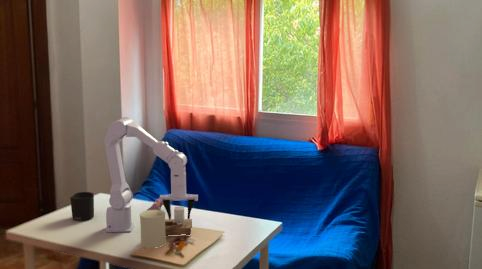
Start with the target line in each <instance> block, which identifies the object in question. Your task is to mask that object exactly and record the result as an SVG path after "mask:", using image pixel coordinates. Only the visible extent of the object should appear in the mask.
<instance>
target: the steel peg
mask: <svg viewBox="0 0 482 269" xmlns="http://www.w3.org/2000/svg"><path fill="white" fill-rule="evenodd" d="M173 208H174V209H173V219H174V222H177V225H182V222H184V219H185V206H174V207H173Z"/></svg>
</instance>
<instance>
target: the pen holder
mask: <svg viewBox="0 0 482 269" xmlns="http://www.w3.org/2000/svg"><path fill="white" fill-rule="evenodd" d="M69 198H70V207H71V208H70V210H71V218H72V220H73V221H74V222H75V221H76V222H86V221H90V220H92V219H94V217H95V196H94V193H93V192H91V191H81V192H76V193H74V194H73V195H71V196H70V197H69Z"/></svg>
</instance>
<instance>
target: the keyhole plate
mask: <svg viewBox="0 0 482 269" xmlns="http://www.w3.org/2000/svg"><path fill="white" fill-rule="evenodd" d="M191 228H192V229H193V219H192V218H190V219H188V218H184V222H182V225H177V222H174V218H173V219H172V218H171V219H169V218H168V219H167V218H165V235H166V236H168V235H181V234H186V235H190V234H191V235H192V230H191ZM191 235H190V236H191Z"/></svg>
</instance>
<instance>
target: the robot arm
mask: <svg viewBox="0 0 482 269" xmlns="http://www.w3.org/2000/svg"><path fill="white" fill-rule="evenodd" d="M125 137H126V138H136V139H138V140H139V141H141V142H142V143H144V144H145V145H147V146H148V147H150V148H151V149H152V151H153V154H154V155H156V156H157V157H159V158H160V159H161V160H163V161H164V162H165V163H166V164H168V167H169V169H170V192H171V193H169V194H160V195H159V199H160V201H163V205H162V206H163V208H164V209H165V211H166V213H167V214H166V215H167V216H168V217H167V218H168V219H172V210H171V209H172V208H171V202H174V201H175V202H176V201H179V202H181V201H187V204H186V205H187V219H191V211H192V209H193V207H194V205H195V202H198V201H199V194H191V193H187V172H186V164H187V163H188V156H186V155H185V153H184V152H180V151H179V150H177V149H175V148H173V147H171V146H170V145H169V142H168V141H164V140H162V141H161V140H160V141H159V140H157V139H156V138H154V137H153V136H152V134H150V133H148V132H147V131H146V130H145V129H144V128H143V127H141V126H140V125H139V124H138V123H137V121H134V120H133V119H132V118H130V117H126V116H124V117H122V118H120V119H118V120H115V121H112V122H111V123H110V124H109V125H108V126H107V132H106V134H105V137H104V146H105V153H106V158H107V165H108V169H109V174H110V176H109V177H110V181H111V188H110V191H109V196H110V197H109V200H108V201H109V205H110V206H109V207H107V208H106V212H105V213H106V215H105V218H106V220H105V221H106V232H107V233H115V232H116V233H123V232H124V233H127V232H128V233H129V232H130V233H131V232H132V230H133V228H134V226H135V223H132V204H131V201H132V200H133V192H132V190H131V188H130V186H129V183H127V181H126V176H125V170H124V165H123V158H122V152H121V146H120V143H121V141H122V140H123V139H124V138H125Z"/></svg>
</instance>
